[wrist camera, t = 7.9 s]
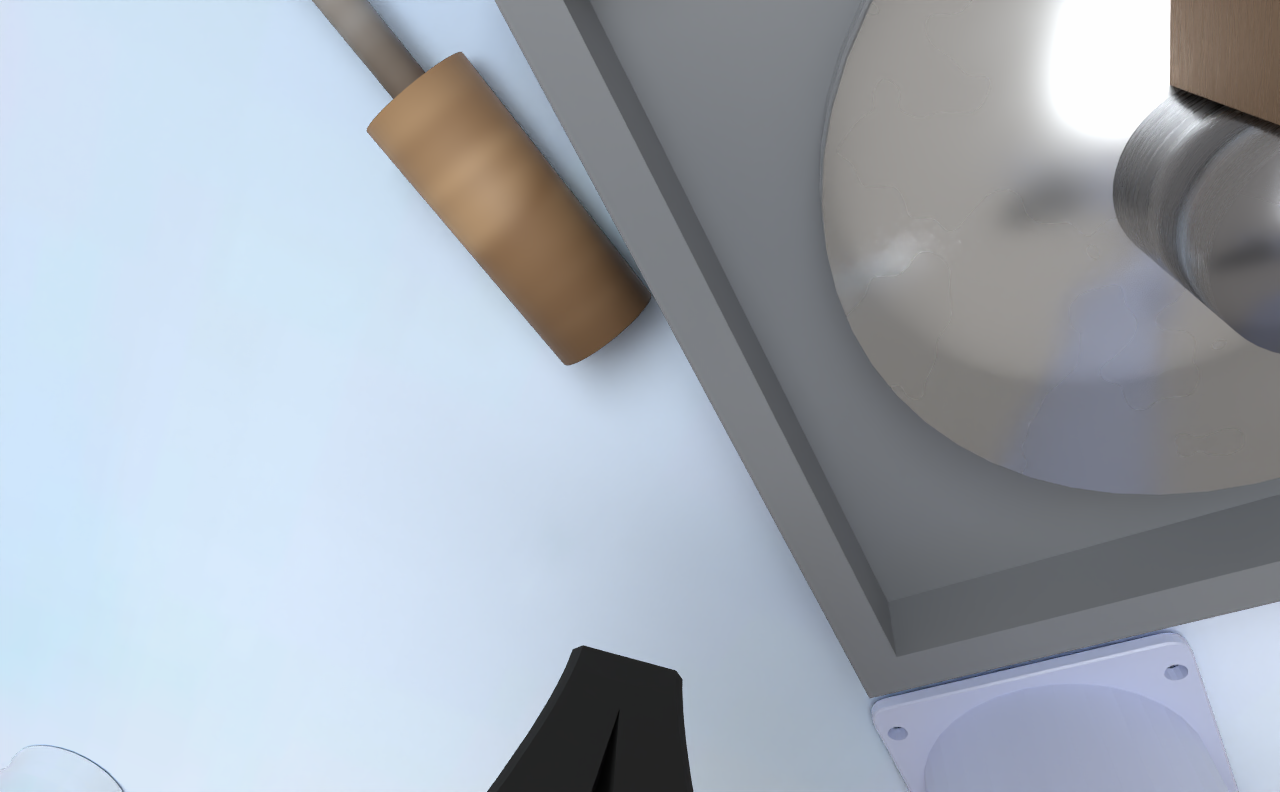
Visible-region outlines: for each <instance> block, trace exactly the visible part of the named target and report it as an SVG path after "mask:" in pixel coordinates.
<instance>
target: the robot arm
mask: <svg viewBox="0 0 1280 792" xmlns="http://www.w3.org/2000/svg"><path fill="white" fill-rule="evenodd" d="M1172 665H1178V666H1176V667H1174V668H1168V667H1170V666H1172ZM871 713H872V720H873V724H874V726H875V728H876V730H877V732H878V733H879V735H880V737H881V739H882V741H883V743H884V744H885V746H886V748H887V750H888V752H889V754H890V755H891V757H892V759H893V761H894V763H895V765H896V766H897V768H898V770H899V772H900V774H901V776H902V778H903V779H904V781H905V783H906V785H907V787H908V789H909V790H910V792H1239V791H1238V788H1237V785H1236V782H1235V779H1234V776H1233V773H1232V770H1231V767H1230V764H1229V761H1228V757H1227V754H1226V751H1225V748H1224V745H1223V742H1222V739H1221V736H1220V733H1219V730H1218V727H1217V724H1216V721H1215V718H1214V715H1213V712H1212V709H1211V705H1210V702H1209V699H1208V696H1207V693H1206V690H1205V687H1204V684H1203V681H1202V678H1201V675H1200V672H1199V669H1198V666H1197V663H1196V660H1195V657H1194V653H1193V651H1192V649H1191V648H1190V646H1189V644H1188V642H1187V641H1186V640H1185V638H1184V637H1182V636H1180V635H1179V634H1174V633H1161V634H1156V635H1152V636H1148V637H1144V638H1139V639H1135V640H1131V641H1127V642H1122V643H1118V644H1114V645H1110V646H1105V647H1101V648H1097V649H1093V650H1088V651H1084V652H1080V653H1076V654H1071V655H1067V656H1063V657H1059V658H1054V659H1050V660H1046V661H1042V662H1037V663H1033V664H1029V665H1025V666H1020V667H1016V668H1012V669H1008V670H1003V671H999V672H995V673H991V674H986V675H982V676H978V677H974V678H969V679H965V680H961V681H957V682H952V683H948V684H944V685H940V686H935V687H931V688H927V689H923V690H918V691H914V692H910V693H906V694H901V695H897V696H893V697H889V698H884V699H882V700H879V701H877V702H876V703H875V704H874V705H873V706H872V709H871ZM893 727H901V728H898V729H894V728H893ZM487 792H693V787H692V781H691V774H690V767H689V760H688V753H687V745H686V736H685V727H684V715H683V698H682V678H681V677H680V675H679V674H678V672H677V671H675V670H672V669H668V668H664V667H661V666H657V665H653V664H650V663H646V662H642V661H639V660H635V659H631V658H628V657H624V656H620V655H616V654H613V653H609V652H605V651H602V650H598V649H594V648H591V647H587V646H580V647H578V648H575V649H573V650H572V653H571V655H570V658H569V660H568V663H567V665H566V668H565V670H564V672H563V674H562V676H561V678H560V680H559V682H558V684H557V686H556V688H555V689H554V691H553V693H552V695H551V697H550V698H549V700H548V702H547V704H546V705H545V707H544V708H543V710H542V712H541V713H540V715H539V717H538V718H537V720H536V721H535V723H534V725H533V726H532V728H531V730H530V731H529V733H528V734H527V736H526V737H525V739H524V740H523V741H522V743H521V744H520V746H519V747H518V749H517V750H516V752H515V753H514V754H513V756H512V757H511V759H510V760H509V762H508V763H507V765H506V766H505V767H504V769H503V770H502V772H501V773H500V775H499V776H498V778H497V779H496V780H495V782H494V783H493V784H492V786H491V787H490V789H489V790H488V791H487Z"/></svg>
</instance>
